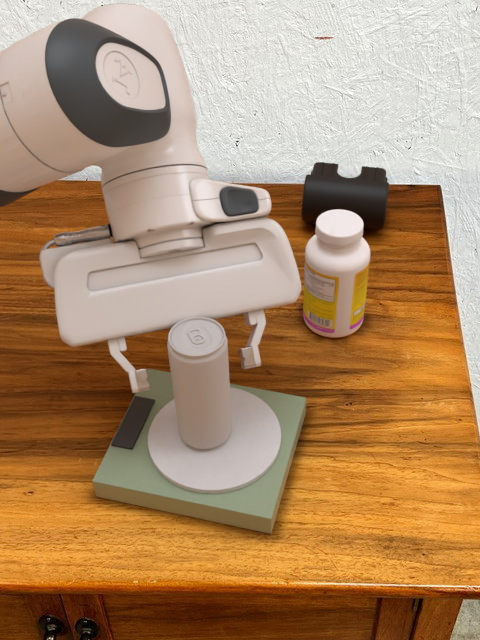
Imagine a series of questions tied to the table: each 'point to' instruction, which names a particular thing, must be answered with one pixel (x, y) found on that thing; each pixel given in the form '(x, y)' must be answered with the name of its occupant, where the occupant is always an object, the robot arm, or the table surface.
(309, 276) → the supplement bottle
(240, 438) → the scale
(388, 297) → the table surface
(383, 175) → the black notched block
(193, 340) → the beverage can
